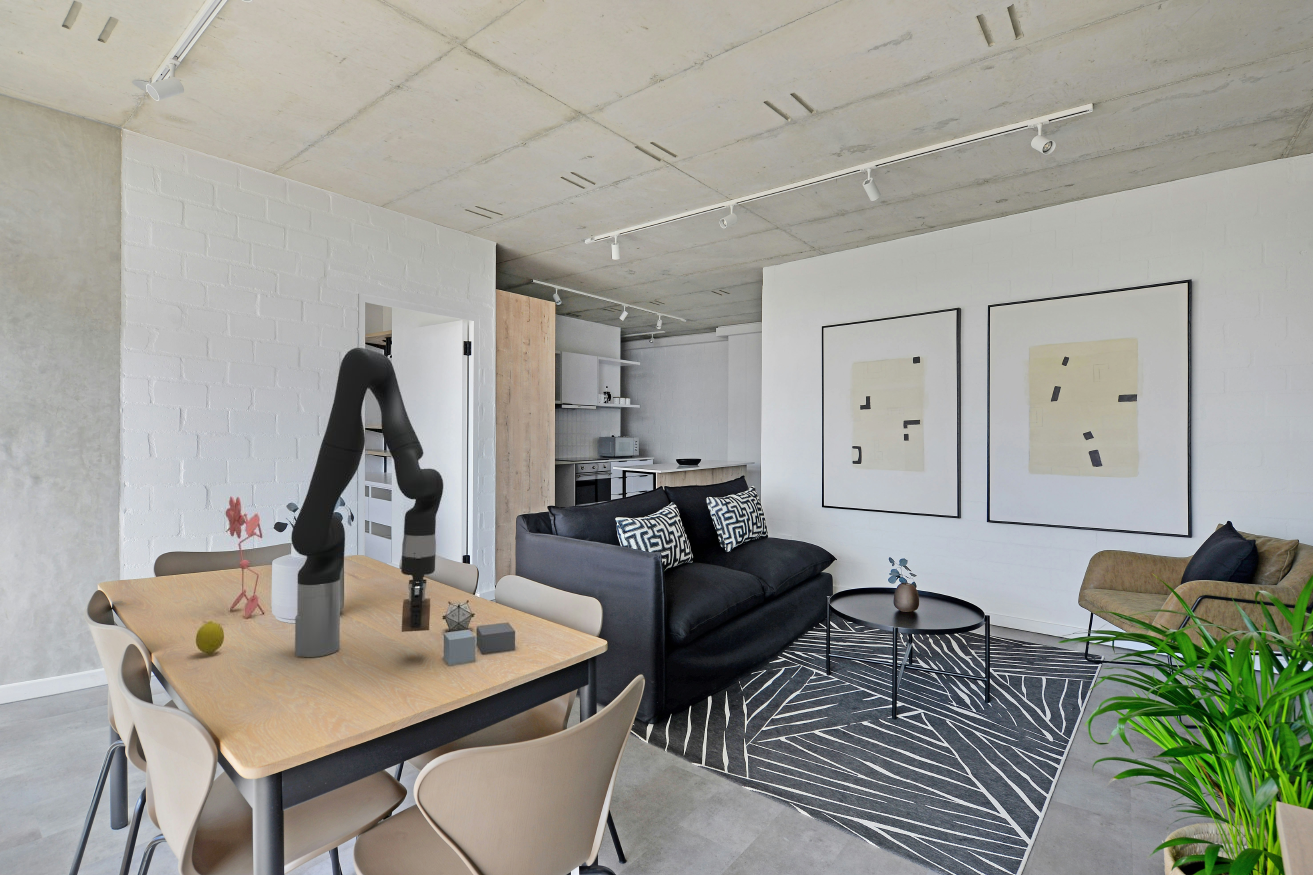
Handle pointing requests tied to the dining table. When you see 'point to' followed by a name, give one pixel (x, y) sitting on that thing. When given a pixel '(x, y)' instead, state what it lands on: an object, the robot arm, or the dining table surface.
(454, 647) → the slate cube
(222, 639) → the lemon
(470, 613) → the game die
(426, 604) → the walnut cube
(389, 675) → the dining table surface
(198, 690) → the dining table surface
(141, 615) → the dining table surface
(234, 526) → the pink stick figure
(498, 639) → the charcoal block
